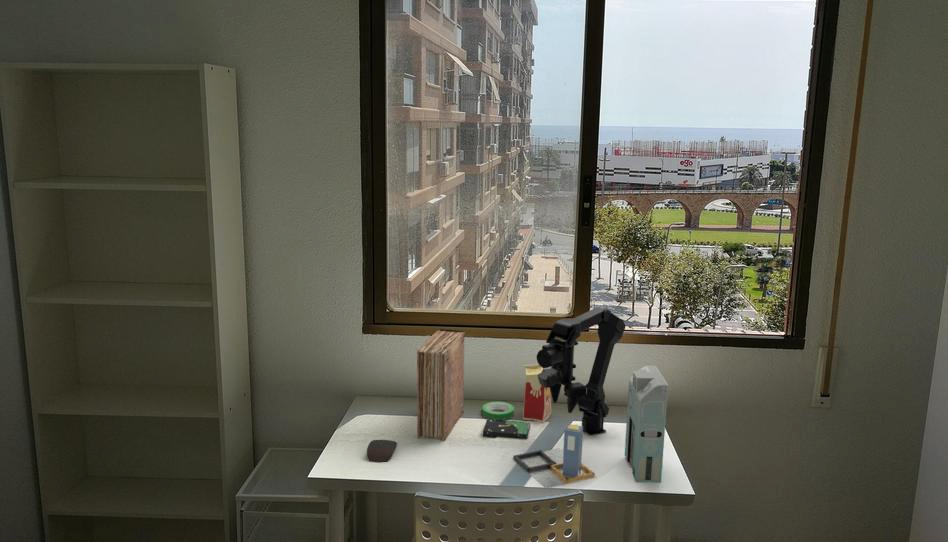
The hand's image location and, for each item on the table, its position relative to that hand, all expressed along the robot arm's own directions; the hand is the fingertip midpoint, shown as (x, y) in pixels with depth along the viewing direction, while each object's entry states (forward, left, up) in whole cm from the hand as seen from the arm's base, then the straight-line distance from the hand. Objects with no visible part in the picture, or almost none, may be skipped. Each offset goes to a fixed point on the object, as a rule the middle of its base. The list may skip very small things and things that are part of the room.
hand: (562, 407), depth 247 cm
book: (+29, -30, -13) cm, 44 cm away
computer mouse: (+54, -18, -14) cm, 58 cm away
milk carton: (-4, -24, -13) cm, 28 cm away
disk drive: (+11, -16, -14) cm, 24 cm away
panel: (+10, +13, -13) cm, 21 cm away
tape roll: (+7, -31, -14) cm, 35 cm away
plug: (+7, +18, -12) cm, 23 cm away
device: (-14, +24, -13) cm, 31 cm away
